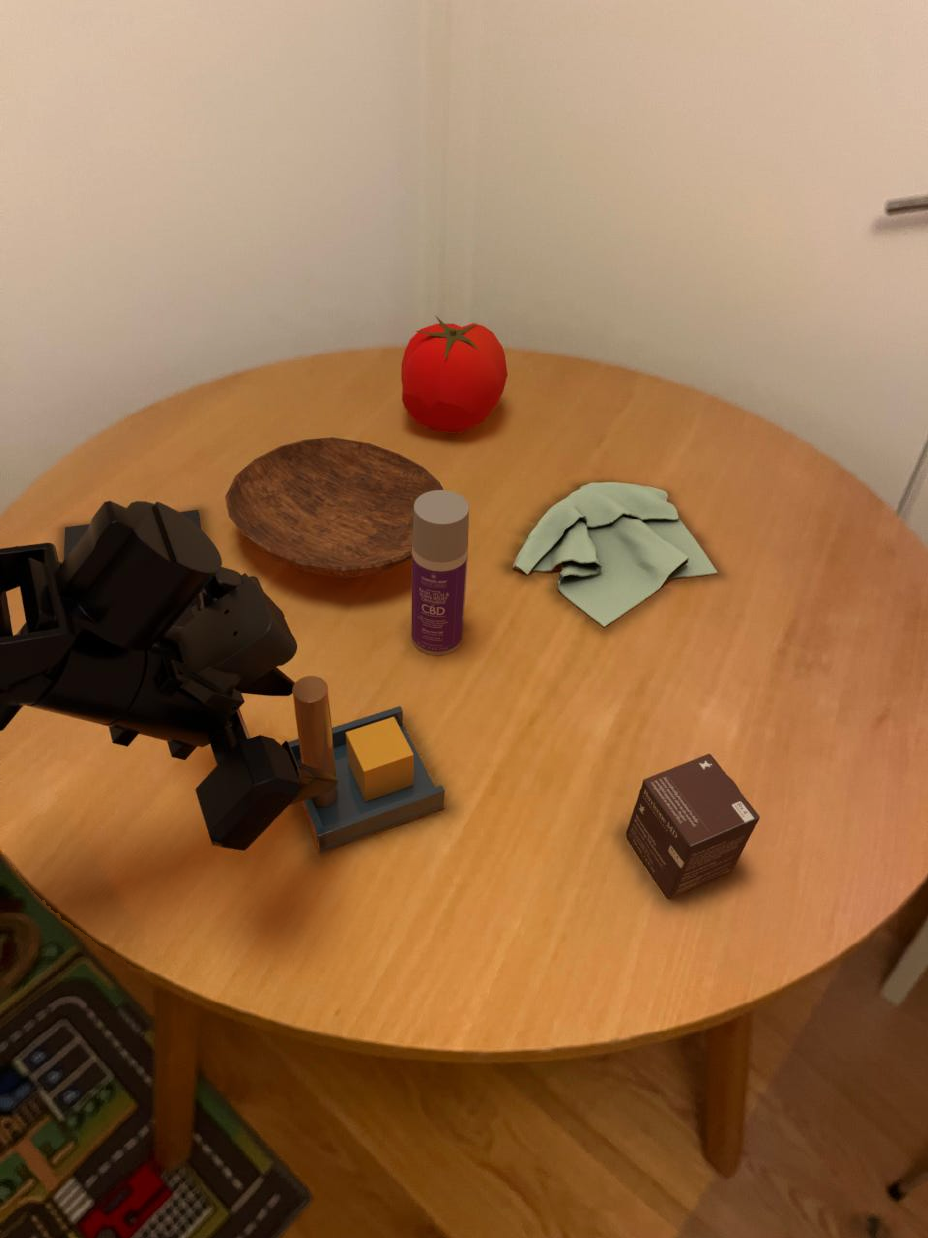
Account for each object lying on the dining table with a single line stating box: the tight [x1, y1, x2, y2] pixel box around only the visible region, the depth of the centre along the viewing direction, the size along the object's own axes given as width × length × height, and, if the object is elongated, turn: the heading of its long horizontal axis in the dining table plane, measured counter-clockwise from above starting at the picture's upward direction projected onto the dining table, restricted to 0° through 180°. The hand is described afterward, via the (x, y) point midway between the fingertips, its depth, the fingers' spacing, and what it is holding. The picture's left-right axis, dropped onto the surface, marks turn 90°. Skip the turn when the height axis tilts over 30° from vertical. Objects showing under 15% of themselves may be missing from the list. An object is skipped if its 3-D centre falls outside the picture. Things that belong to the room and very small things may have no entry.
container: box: [411, 489, 470, 656], centre depth 79 cm, size 5×5×15 cm
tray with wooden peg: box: [288, 675, 446, 854], centre depth 67 cm, size 10×9×13 cm
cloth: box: [512, 481, 718, 628], centre depth 93 cm, size 20×22×2 cm
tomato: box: [400, 315, 508, 434], centre depth 106 cm, size 12×13×12 cm
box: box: [625, 753, 761, 898], centre depth 66 cm, size 6×6×7 cm
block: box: [346, 717, 414, 802], centre depth 71 cm, size 4×4×4 cm
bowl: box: [224, 436, 444, 578], centre depth 92 cm, size 20×22×5 cm
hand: (312, 735), depth 65 cm, fingers open, 9 cm apart
